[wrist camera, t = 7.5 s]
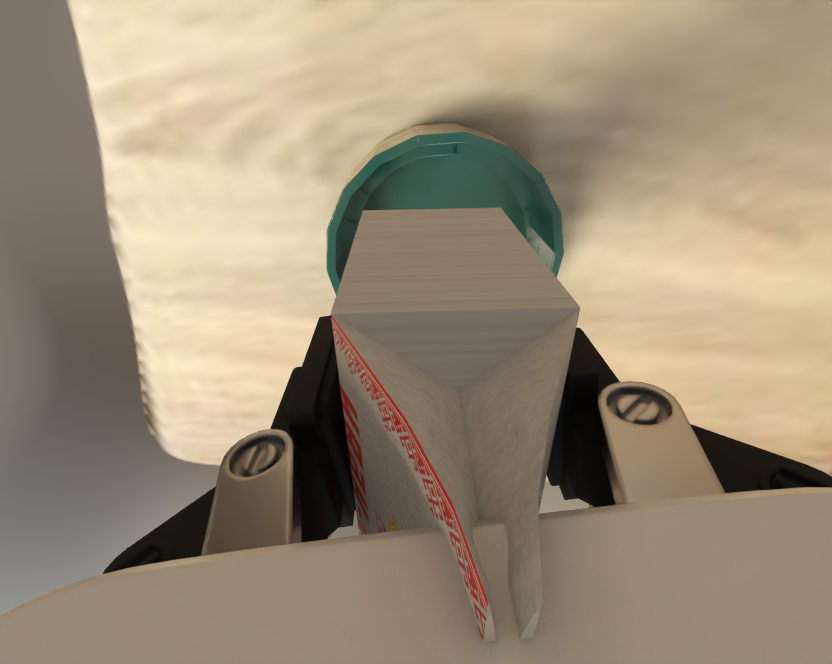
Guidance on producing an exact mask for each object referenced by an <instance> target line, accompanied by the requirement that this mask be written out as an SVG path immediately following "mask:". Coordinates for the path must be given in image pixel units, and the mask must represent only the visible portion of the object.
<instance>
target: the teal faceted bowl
mask: <svg viewBox="0 0 832 664" xmlns="http://www.w3.org/2000/svg"><path fill="white" fill-rule="evenodd" d="M455 208H501V209H502V210H503V211H504V213H505V214H506V215H507V216H508V218H509V219H510V220H511V221H512V223H513V224H514V225H515V226H516V228H517V229H518V230H519V231H520V233H521V234H522V235H523V236H524V238H525V239H526V240H527V242H528V243H529V244H530V245H531V247H532V248H533V249H534V250H535V252H536V253H537V254H538V255H539V257H540V258H541V259H542V260H543V262H544V263H545V264H546V265H547V267H548V268H549V269H550V270H551V272H552V273H553V274H554V275H555V277H556V278H557V274H558V271H559V267H560V264H561V261H562V257H563V253H564V249H563V235H562V221H561V213H560V210H559V208H558V206H557V204H556V202H555V200H554V198H553V196H552V194H551V192H550V189H549V187H548V185H547V183H546V181H545V179H544V177H543V176H542V174H541V173H540V172H539V171H537V170H536V169H535V168H534V167H533V166H532V165H530V164H529V163H528V162H527V161H526V160H525V159H523V158H522V157H521V156H520V155H519V154H518V153H517V152H515V151H514V150H513V149H512V148H511V147H510V146H508V145H506V144H504V143H503V142H501V141H499V140H498V139H496V138H494V137H492V136H491V135H489V134H486V133H483V132H480V131H477V130H474V129H471V128H468V127H465V126H461V125H458V124H455V123H442V124H429V125H416V126H412V127H410V128H408V129H406V130H404V131H402V132H400V133H398V134H396V135H394V136H392V137H390V138H388V139H386V140H384V141H382V142H380V143H379V144H378V145H377V146H376V147H375V148H374V149H373V150H372V151H371V152H370V153H369V154H368V155H367V157H366V158H365V159H364V160H363V161H362V162H361V163H360V164H359V165H358V166H357V167H356V169H355V170H354V171H353V173H352V174H351V176H350V178H349V180H348V181H347V183H346V185H345V187H344V188H343V190H342V193H341V195H340V198H339V200H338V203H337V205H336V208H335V210H334V213H333V215H332V218H331V221H330V223H329V226H328V228H327V272H328V275H329V278H330V280H331V283H332V285H333V288H334V291H335V293H336V295H337V292H338V289H339V286H340V282H341V279H342V276H343V273H344V270H345V266H346V263H347V260H348V257H349V253H350V250H351V247H352V244H353V241H354V237H355V234H356V231H357V228H358V225H359V221H360V218H361V215H362V212H363V210H408V209H455Z"/></svg>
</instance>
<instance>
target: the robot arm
mask: <svg viewBox="0 0 832 664" xmlns="http://www.w3.org/2000/svg"><path fill="white" fill-rule="evenodd" d="M547 477H548V479H549V482H550V484H551V485H552V486H556V485H559V486H560V489H561V492H562V494H563V497H564V499H565V500H568V499H576V498H579V499H581V500H583V501H584V502H587V503H588V504H589V508H585V509H576V510H568V511H559V512H550V513H541V514H538V521H539V540H540V558H541V576H542V594H543V601H542V605H541V609H540V613H539V617H538V621H537V625H536V629H535V633H534V637H533V638H525V639H520V638H519V633H518V629H517V624H516V619H515V614H514V609H513V604H512V600H511V595H510V590H509V585H508V538H507V533H506V529H505V524H501V523H494V522H486V521H479V522H478V523H477V524H475V525H474V527H472V530H473V538H474V546H475V548H476V551H477V554H478V556H479V559H480V562H481V564H482V567H483V570H484V573H485V575H486V578H487V581H488V586H489V592H490V599H491V605H492V611H493V618H494V624H495V630H496V637H497V641H495V642H485V643H483V641H482V638H481V635H480V632H479V629H478V626H477V623H476V620H475V617H474V614H473V611H472V608H471V605H470V602H469V599H468V596H467V593H466V590H465V587H464V584H463V581H462V579H461V576H460V573H459V570H458V567H457V564H456V561H455V558H454V555H453V552H452V549H451V547H450V545H449V543H448V541H447V539H446V537H445V535H444V533H443V531H440V530H436V529H433V528H429V527H424V528H415V529H407V530H399V531H390V532H382V533H374V534H366V535H358V536H351V537H342V538H335V539H332V538H331V534H332V533H333V532H334V531H335V530H336V529H337V528H338V527H345V526H353V519H354V510H356V505H355V497H354V489H353V482H352V474H351V466H350V458H349V451H348V443H347V435H346V428H345V420H344V412H343V405H342V397H341V389H340V381H339V374H338V366H337V358H336V351H335V343H334V335H333V327H332V320H331V316H324V317H320V318H319V320H318V323H317V326H316V329H315V332H314V334H313V337H312V340H311V343H310V346H309V348H308V351H307V354H306V357H305V360H304V363H303V365H302V367H296V368H294V370H293V371H292V374H291V376H290V379H289V382H288V384H287V387H286V389H285V392H284V395H283V397H282V400H281V402H280V405H279V408H278V410H277V413H276V416H275V418H274V421H273V423H272V426H271V429H268V430H262V431H258V432H256V433H253V434H250V435H248V436H247V437H245V438H243V439H241V440H240V441H238V442H237V443H236V444H235V445H234V446H232V447H231V448H230V450H229V451H228V452H227V453H226V455H225V456H224V458H223V461H222V463H221V466H220V471H219V476H218V480H217V485H216V487H214V488H213V489H211V490H210V491H208V492H207V493H206V494H204V495H203V496H201V497H200V498H198V499H197V500H196V501H194V502H193V503H191V504H190V505H189V506H187V507H186V508H184V509H183V510H181V511H180V512H178V513H177V514H176V515H174V516H173V517H171V518H170V519H169V520H167V521H166V522H164V523H163V524H161V525H160V526H159V527H157V528H156V529H154V530H153V531H151V532H150V533H149V534H147V535H146V536H144V537H143V538H141V539H140V540H139V541H137V542H136V543H135V544H133V545H131V546H130V547H129V548H127V549H126V550H125V551H124V552H122V553H121V554H120V555H119V556H117V557H116V558H115V559H114V560H113V562H112V563H111V564H110V565H109V566H108V567H107V568H106V569H105V571H104V572H103V574H102V575H99V576H94V577H91V578H88V579H85V580H82V581H79V582H76V583H73V584H70V585H67V586H64V587H61V588H58V589H55V590H53V591H51V592H49V593H46V594H44V595H42V596H40V597H37V598H35V599H33V600H31V601H29V602H26V603H25V604H22V605H20V606H18V607H16V608H14V609H12V610H10V611H8V612H7V613H5V614H3V615H1V616H0V664H832V477H831V476H829V475H828V474H826V473H825V472H822V471H820V470H818V469H815V468H813V467H811V466H808V465H806V464H803V463H800V462H797V461H794V460H792V459H789V458H786V457H783V456H780V455H777V454H774V453H771V452H769V451H766V450H763V449H760V448H757V447H754V446H751V445H748V444H746V443H743V442H740V441H737V440H734V439H731V438H728V437H726V436H723V435H720V434H717V433H714V432H711V431H708V430H705V429H703V428H700V427H697V426H694V425H691V424H690V423H689V421H688V419H687V417H686V415H685V413H684V411H683V409H682V407H681V405H680V404H679V402H678V401H677V400H676V399H675V397H674V396H672V395H671V394H669V393H668V392H667V391H665V390H663V389H661V388H659V387H657V386H654V385H651V384H647V383H643V382H633V381H626V382H620V381H619V380H618V379H617V377H616V376H615V374H614V373H613V372H612V370H611V369H610V368H609V366H608V365H607V364H606V362H605V361H604V359H603V358H602V357H601V355H600V354H599V353H598V351H597V350H596V348H595V347H594V346H593V344H592V343H591V342H590V340H589V339H588V337H587V336H586V335H585V333H584V332H583V331H582V330H581V329H580V328H576V331H575V336H574V341H573V345H572V350H571V355H570V360H569V365H568V370H567V375H566V380H565V385H564V390H563V395H562V400H561V405H560V410H559V415H558V420H557V425H556V429H555V434H554V439H553V444H552V449H551V454H550V459H549V464H548V469H547Z"/></svg>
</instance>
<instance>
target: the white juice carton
mask: <svg viewBox="0 0 832 664" xmlns="http://www.w3.org/2000/svg"><path fill="white" fill-rule="evenodd" d="M579 311H580V307H579V305H578V304H577V303H576V302H575V300H574V299H573V298H572V297H571V295H570V294H569V293H568V292H567V290H566V289H565V288H564V287H563V285H562V284H561V283H560V282H559V280H558V279H557V278H556V277H555V275H554V274H553V273H552V272H551V270H550V269H549V268H548V267H547V265H546V264H545V263H544V262H543V260H542V259H541V258H540V257H539V255H538V254H537V253H536V252H535V250H534V249H533V248H532V247H531V245H530V244H529V243H528V242H527V240H526V239H525V238H524V236H523V235H522V234H521V233H520V231H519V230H518V229H517V228H516V226H515V225H514V224H513V223H512V221H511V220H510V219H509V218H508V216H507V215H506V214H505V213H504V211H503V210H502V209H501V208H455V209H408V210H363V212H362V215H361V218H360V221H359V225H358V228H357V231H356V234H355V237H354V241H353V244H352V247H351V250H350V253H349V257H348V260H347V263H346V266H345V270H344V273H343V276H342V279H341V282H340V286H339V289H338V292H337V295H336V298H335V302H334V305H333V308H332V311H331V320H332V327H333V335H334V343H335V351H336V358H337V366H338V374H339V381H340V389H341V397H342V405H343V412H344V420H345V428H346V435H347V443H348V451H349V458H350V466H351V474H352V482H353V489H354V497H355V505H356V512H357V519H358V528H359V535H366V534H374V533H382V532H390V531H399V530H407V529H415V528H424V527H429V528H433V529H436V530H440V531H443V533H444V535H445V537H446V539H447V541H448V543H449V545H450V547H451V549H452V552H453V555H454V558H455V561H456V564H457V567H458V570H459V573H460V576H461V579H462V581H463V584H464V587H465V590H466V593H467V596H468V599H469V602H470V605H471V608H472V611H473V614H474V617H475V620H476V623H477V626H478V629H479V632H480V635H481V638H482V641H483V643H485V642H495V641H497V637H496V630H495V624H494V618H493V611H492V605H491V599H490V592H489V586H488V581H487V578H486V575H485V573H484V570H483V567H482V564H481V562H480V559H479V556H478V554H477V551H476V548H475V546H474V538H473V530H472V527H474V525H475V524H477V523H478V522H479V521H486V522H494V523H501V524H505V529H506V533H507V538H508V585H509V590H510V595H511V600H512V604H513V609H514V614H515V619H516V624H517V629H518V633H519V638H520V639H525V638H533V637H534V633H535V629H536V625H537V621H538V617H539V613H540V609H541V605H542V601H543V594H542V576H541V558H540V540H539V521H538V513H539V509H540V503H541V498H542V494H543V489H544V483H545V479H546V474H547V469H548V464H549V459H550V454H551V449H552V444H553V439H554V434H555V429H556V425H557V420H558V415H559V410H560V405H561V400H562V395H563V390H564V385H565V380H566V375H567V370H568V365H569V360H570V355H571V350H572V345H573V341H574V336H575V331H576V326H577V321H578V316H579Z"/></svg>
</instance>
